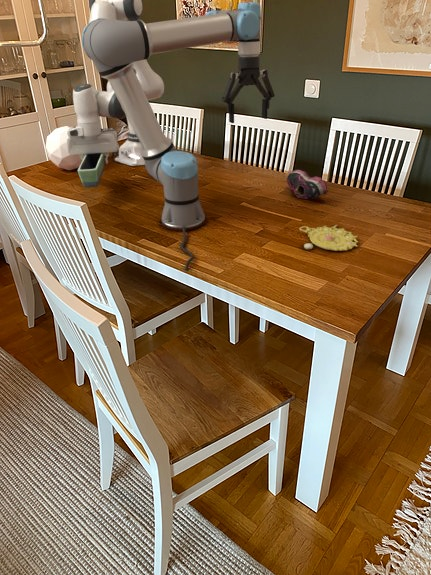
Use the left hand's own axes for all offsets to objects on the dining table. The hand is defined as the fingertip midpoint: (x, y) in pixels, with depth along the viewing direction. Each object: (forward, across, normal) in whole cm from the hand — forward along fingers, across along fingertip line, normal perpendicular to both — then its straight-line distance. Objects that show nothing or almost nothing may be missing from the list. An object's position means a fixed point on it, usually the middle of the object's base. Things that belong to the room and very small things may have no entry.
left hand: (96, 163), depth 184 cm
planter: (+3, 0, +10) cm, 10 cm away
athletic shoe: (+11, -81, +26) cm, 85 cm away
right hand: (-17, -60, +19) cm, 66 cm away
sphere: (+9, +16, -30) cm, 35 cm away
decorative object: (+12, -78, +64) cm, 102 cm away
